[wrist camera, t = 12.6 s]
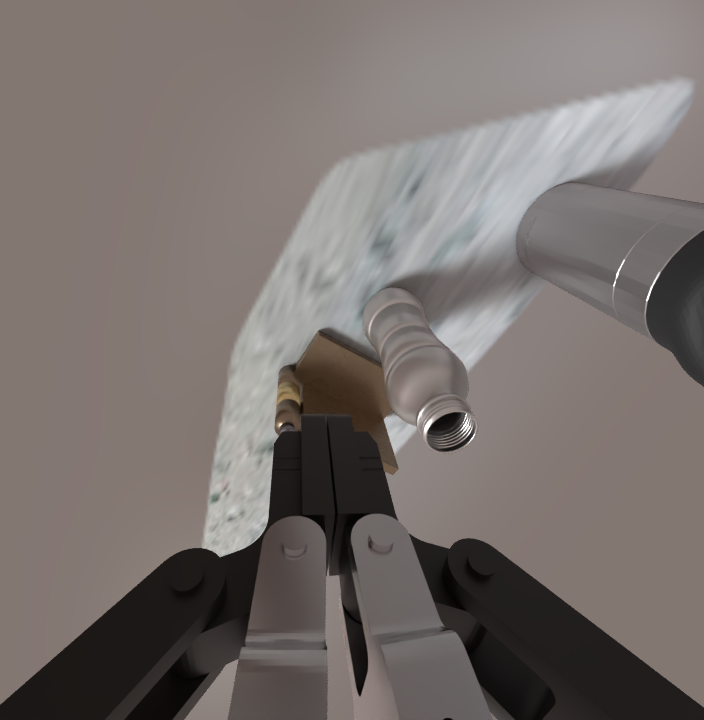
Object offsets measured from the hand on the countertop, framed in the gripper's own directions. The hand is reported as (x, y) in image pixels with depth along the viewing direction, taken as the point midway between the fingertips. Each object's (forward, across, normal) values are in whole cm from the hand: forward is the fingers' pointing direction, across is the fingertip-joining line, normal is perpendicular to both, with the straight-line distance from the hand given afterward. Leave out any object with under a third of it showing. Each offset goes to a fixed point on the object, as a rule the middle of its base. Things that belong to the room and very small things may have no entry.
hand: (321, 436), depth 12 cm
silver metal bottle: (+29, -9, +8) cm, 32 cm away
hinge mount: (+29, -6, +16) cm, 34 cm away
